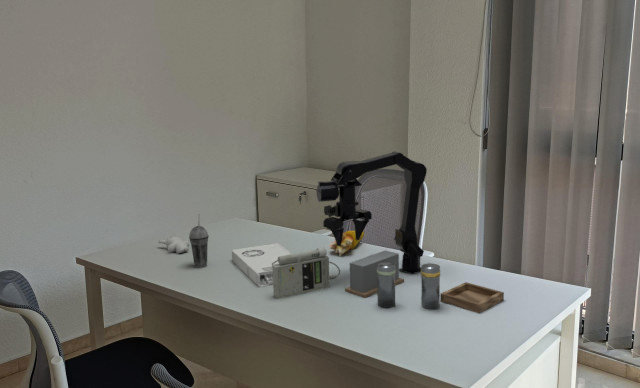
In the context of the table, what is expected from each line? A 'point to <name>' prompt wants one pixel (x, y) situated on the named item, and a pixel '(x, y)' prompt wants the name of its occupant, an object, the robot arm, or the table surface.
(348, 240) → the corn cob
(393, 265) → the cylinder
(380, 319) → the table surface
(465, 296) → the tray
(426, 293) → the cylinder
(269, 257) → the power supply unit
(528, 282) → the table surface
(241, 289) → the table surface
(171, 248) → the bunny figurine
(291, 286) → the geiger counter
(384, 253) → the block
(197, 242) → the beverage cup
